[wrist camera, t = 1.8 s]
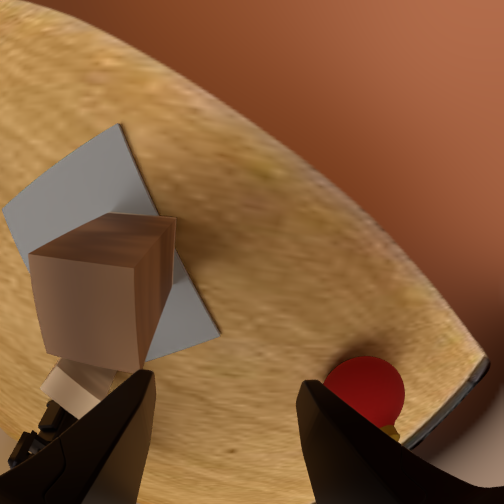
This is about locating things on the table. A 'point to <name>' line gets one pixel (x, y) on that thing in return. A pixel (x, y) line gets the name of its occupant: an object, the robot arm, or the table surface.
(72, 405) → the maple block
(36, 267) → the walnut block
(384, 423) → the christmas ornament
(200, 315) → the mat
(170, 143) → the table surface
